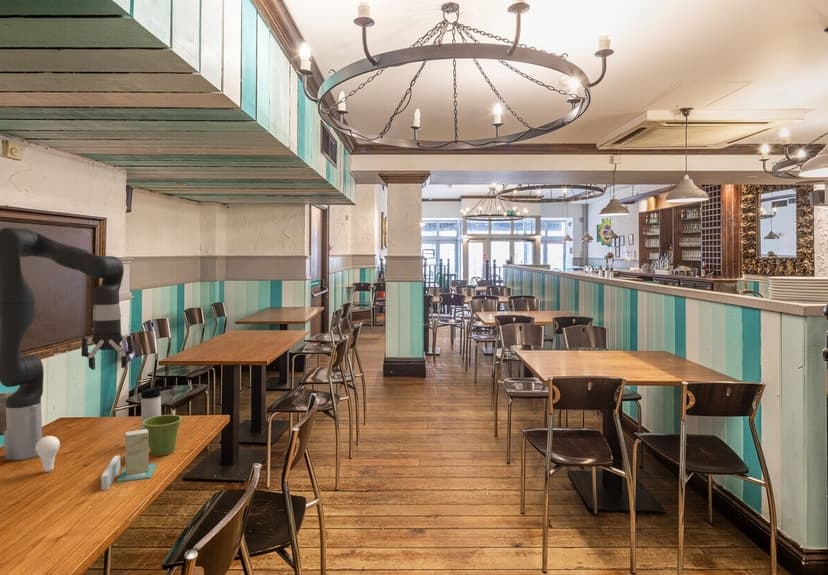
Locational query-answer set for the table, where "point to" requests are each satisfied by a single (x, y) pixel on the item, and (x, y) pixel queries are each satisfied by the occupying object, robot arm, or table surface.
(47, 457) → the lightbulb
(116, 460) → the divider wall
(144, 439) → the skincare box
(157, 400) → the travel mug
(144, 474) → the resting pad
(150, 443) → the plant pot
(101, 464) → the table surface
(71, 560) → the table surface
